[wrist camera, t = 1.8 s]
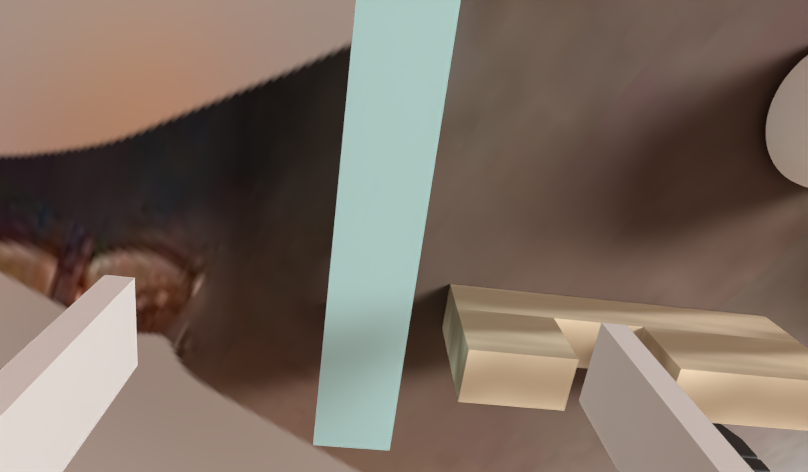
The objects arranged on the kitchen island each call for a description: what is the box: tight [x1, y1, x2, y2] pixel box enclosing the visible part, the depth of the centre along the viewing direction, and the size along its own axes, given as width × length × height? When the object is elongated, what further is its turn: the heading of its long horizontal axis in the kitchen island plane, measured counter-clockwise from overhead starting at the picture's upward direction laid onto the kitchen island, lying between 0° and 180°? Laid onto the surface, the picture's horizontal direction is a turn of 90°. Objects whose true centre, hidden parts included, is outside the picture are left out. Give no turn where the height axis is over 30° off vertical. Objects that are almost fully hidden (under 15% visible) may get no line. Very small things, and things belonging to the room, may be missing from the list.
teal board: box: [313, 0, 461, 450], centre depth 26 cm, size 20×4×9 cm, turn 172°
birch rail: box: [442, 284, 808, 431], centre depth 30 cm, size 3×20×7 cm, turn 82°
